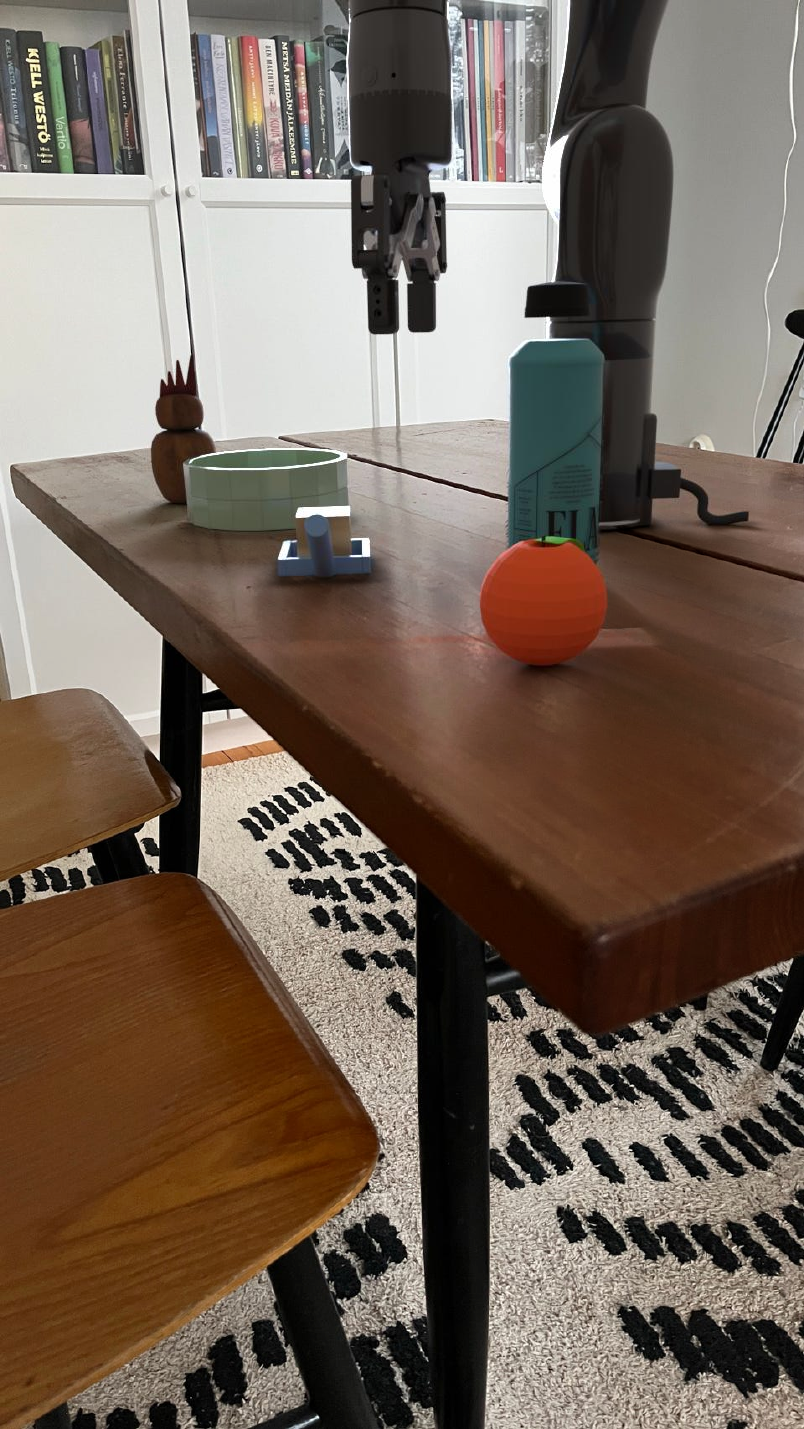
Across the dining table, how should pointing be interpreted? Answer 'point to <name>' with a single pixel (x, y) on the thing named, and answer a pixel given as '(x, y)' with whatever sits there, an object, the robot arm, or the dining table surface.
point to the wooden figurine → (178, 433)
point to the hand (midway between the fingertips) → (403, 333)
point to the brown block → (337, 524)
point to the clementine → (543, 601)
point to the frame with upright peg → (322, 553)
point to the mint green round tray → (263, 487)
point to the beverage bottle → (555, 427)
